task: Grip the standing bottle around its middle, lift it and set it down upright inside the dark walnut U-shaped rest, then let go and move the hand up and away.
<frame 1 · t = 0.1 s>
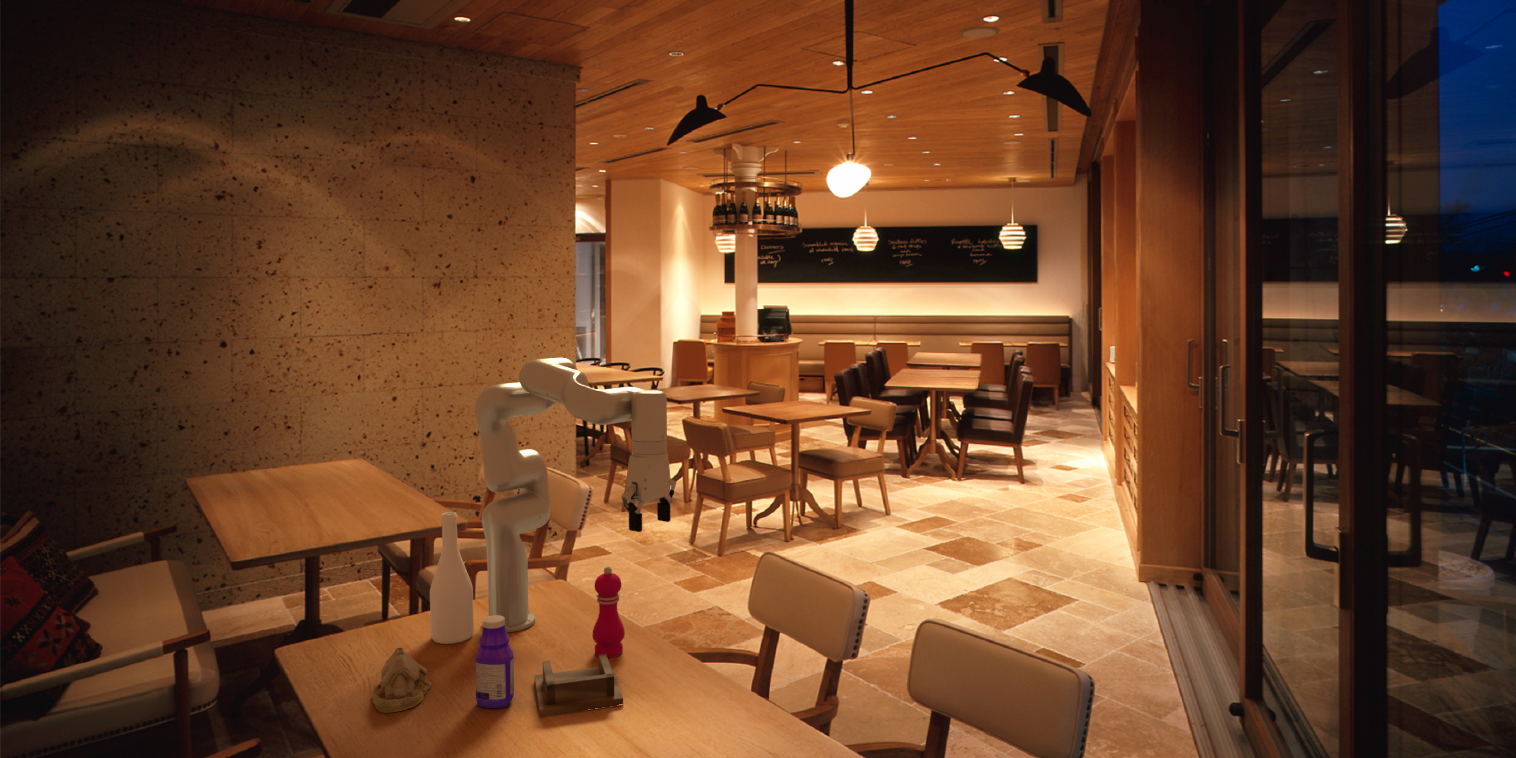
hand: (650, 525, 185), 31 cm above the table, tool pointing down, fingers open, 9 cm apart
ceramic model: (401, 697, 173), on the table
bottle: (495, 704, 170), on the table
bottle rest: (577, 693, 174), on the table
pepper mill: (608, 653, 195), on the table
wine bottle: (452, 638, 203), on the table
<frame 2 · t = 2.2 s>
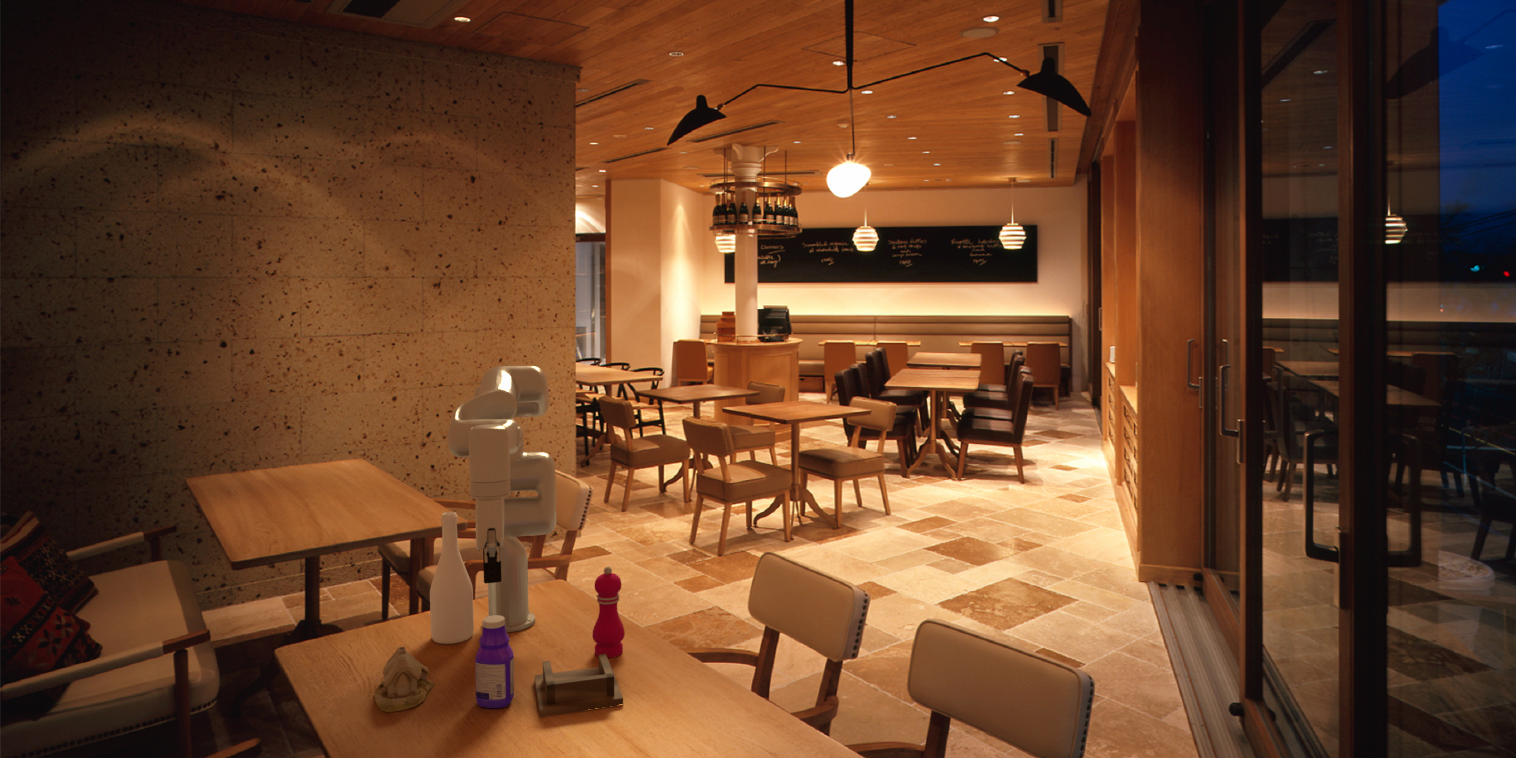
hand: (492, 574, 167), 26 cm above the table, tool pointing down, fingers open, 9 cm apart
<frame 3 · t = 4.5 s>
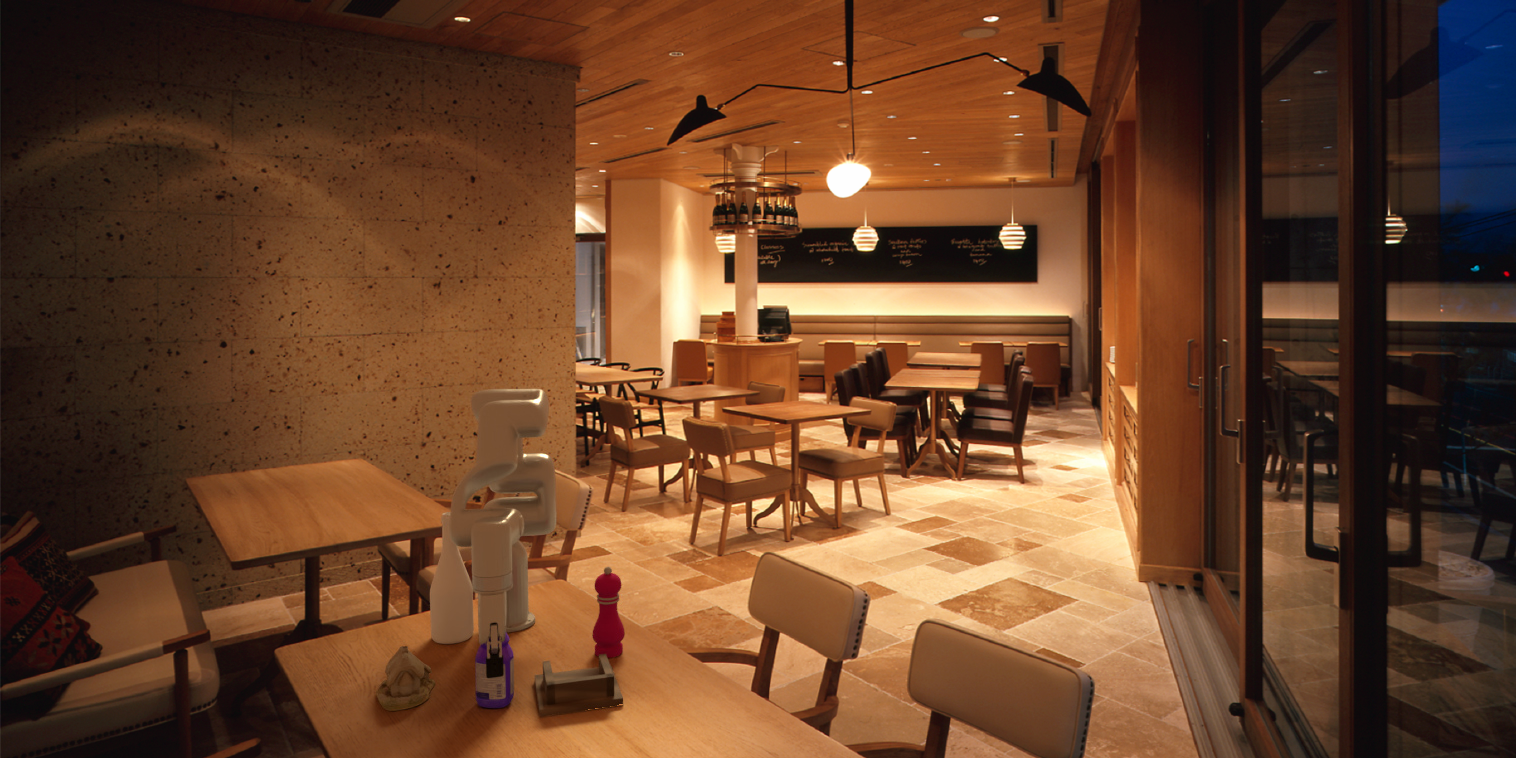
hand: (494, 668, 169), 7 cm above the table, tool pointing down, fingers closed on bottle, 6 cm apart
bottle: (495, 704, 170), on the table, touching gripper
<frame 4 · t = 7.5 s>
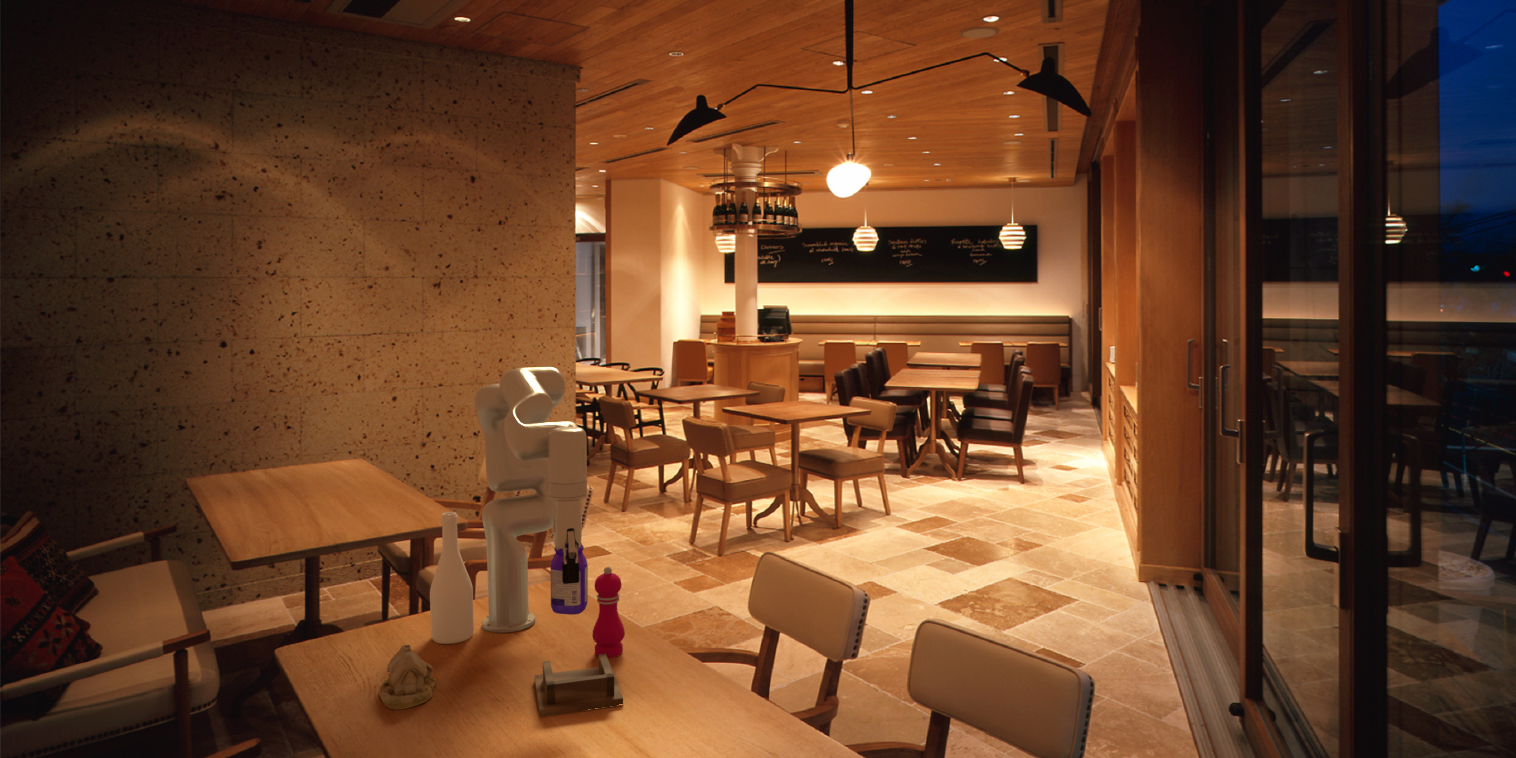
hand: (569, 576, 172), 25 cm above the table, tool pointing down, fingers closed on bottle, 6 cm apart
bottle: (569, 612, 173), point 17 cm above the table, touching gripper
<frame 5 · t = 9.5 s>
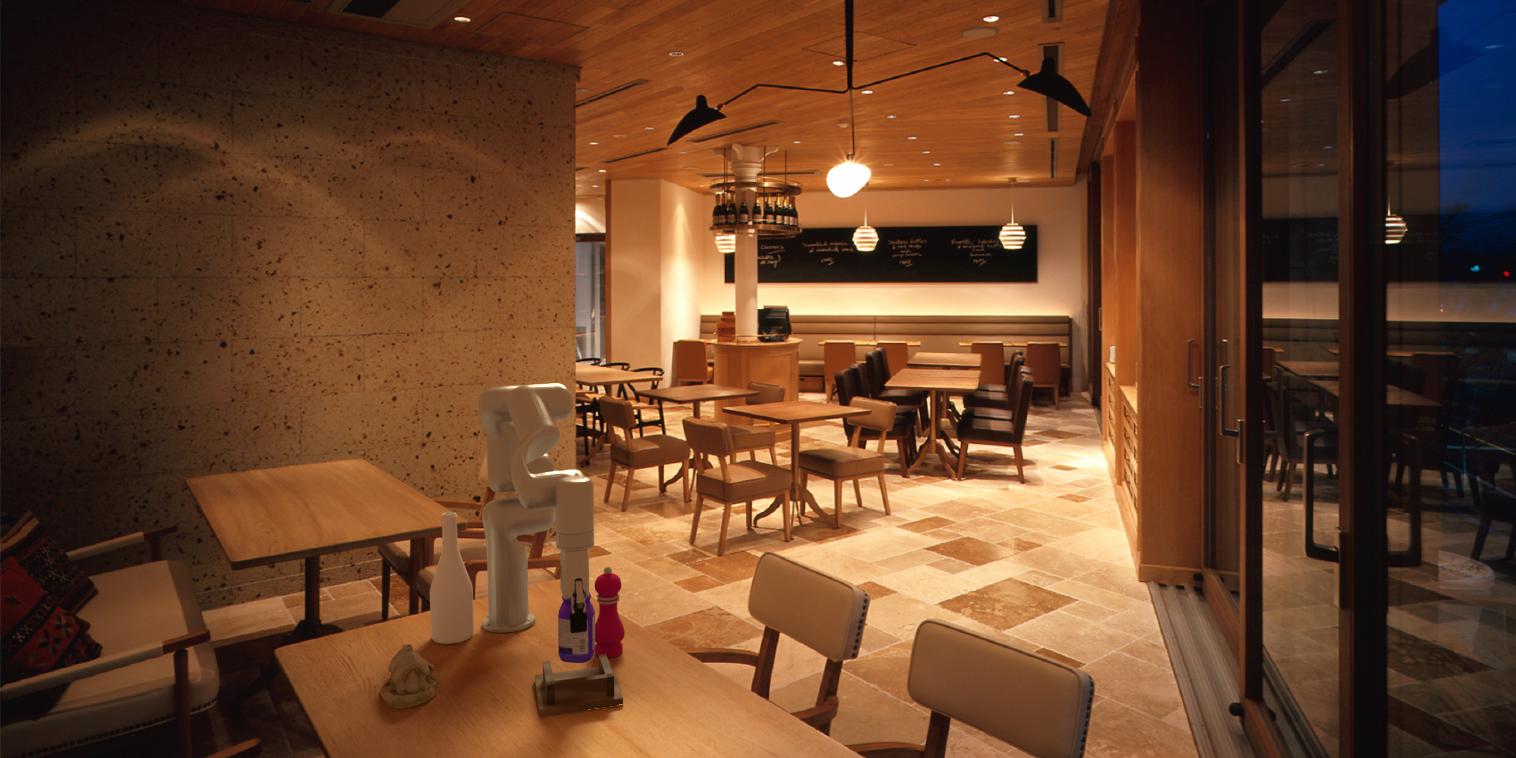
hand: (576, 624, 173), 14 cm above the table, tool pointing down, fingers closed on bottle, 6 cm apart
bottle: (577, 659, 174), point 7 cm above the table, touching gripper
when the fingers open (10 cm above the table, at t = 10.9 s): bottle drops 1 cm, resting on bottle rest.
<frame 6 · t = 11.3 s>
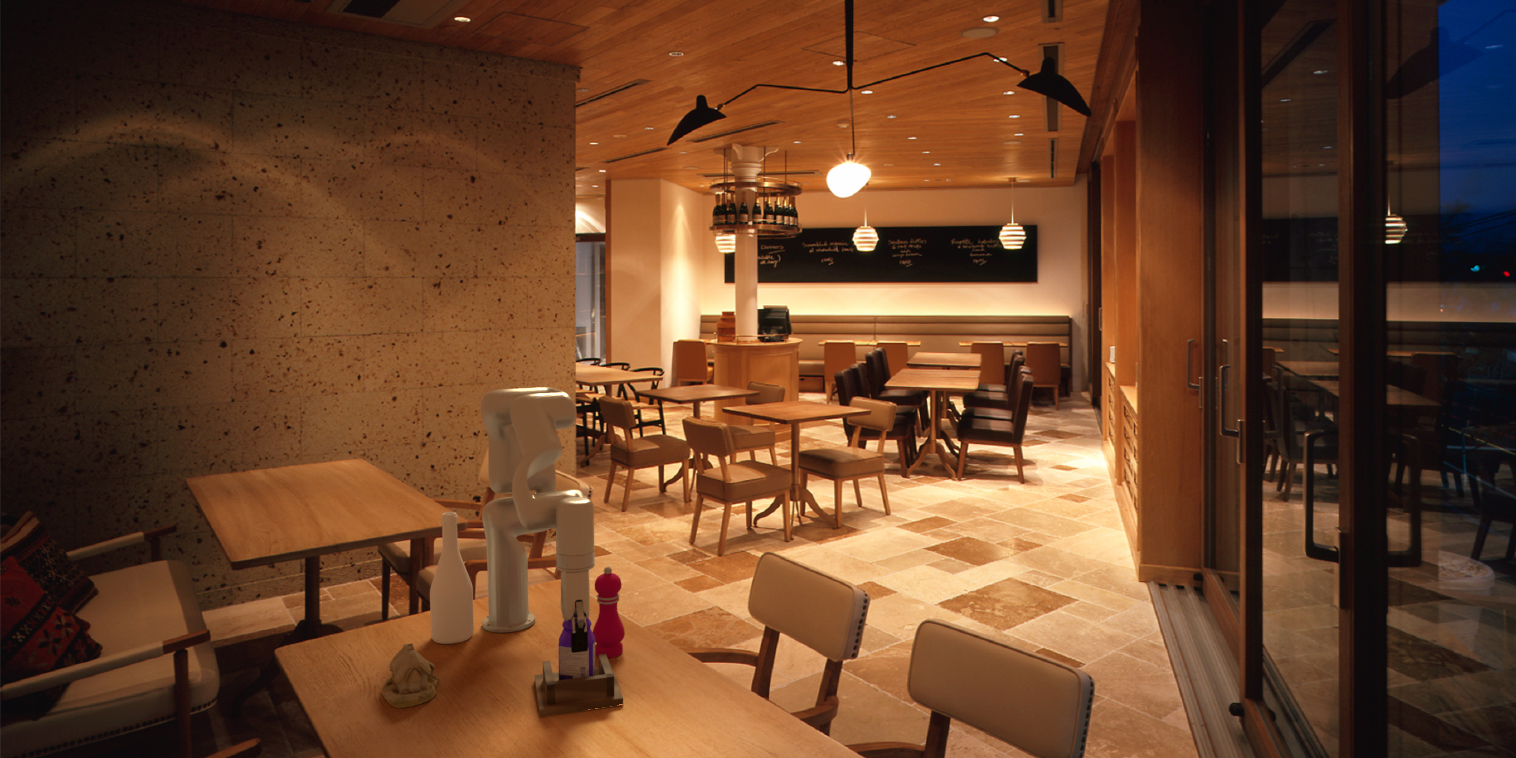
hand: (576, 642, 173), 11 cm above the table, tool pointing down, fingers open, 9 cm apart
bottle: (577, 687, 174), point 1 cm above the table, touching bottle rest
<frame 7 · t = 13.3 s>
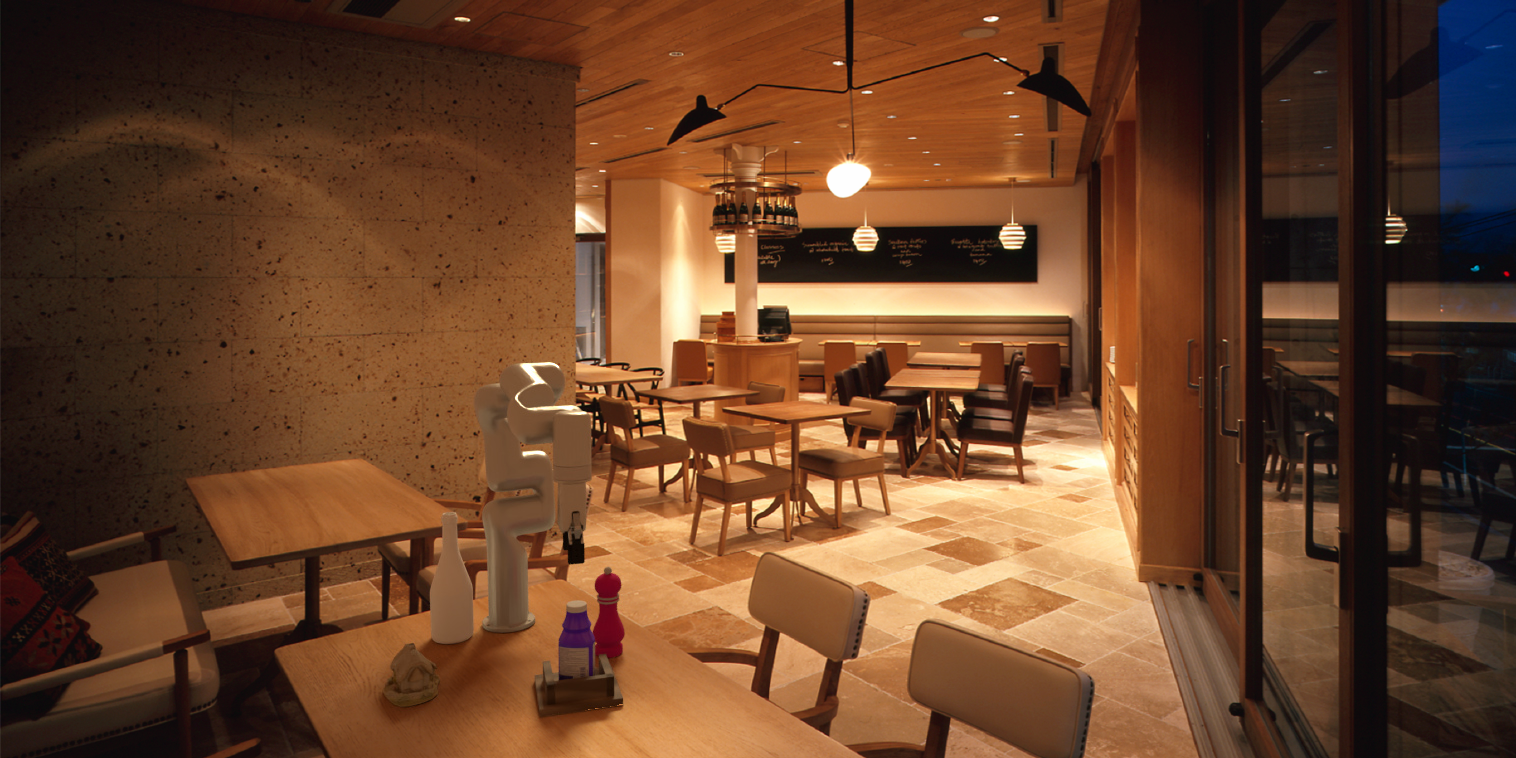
hand: (573, 556, 172), 28 cm above the table, tool pointing down, fingers open, 9 cm apart
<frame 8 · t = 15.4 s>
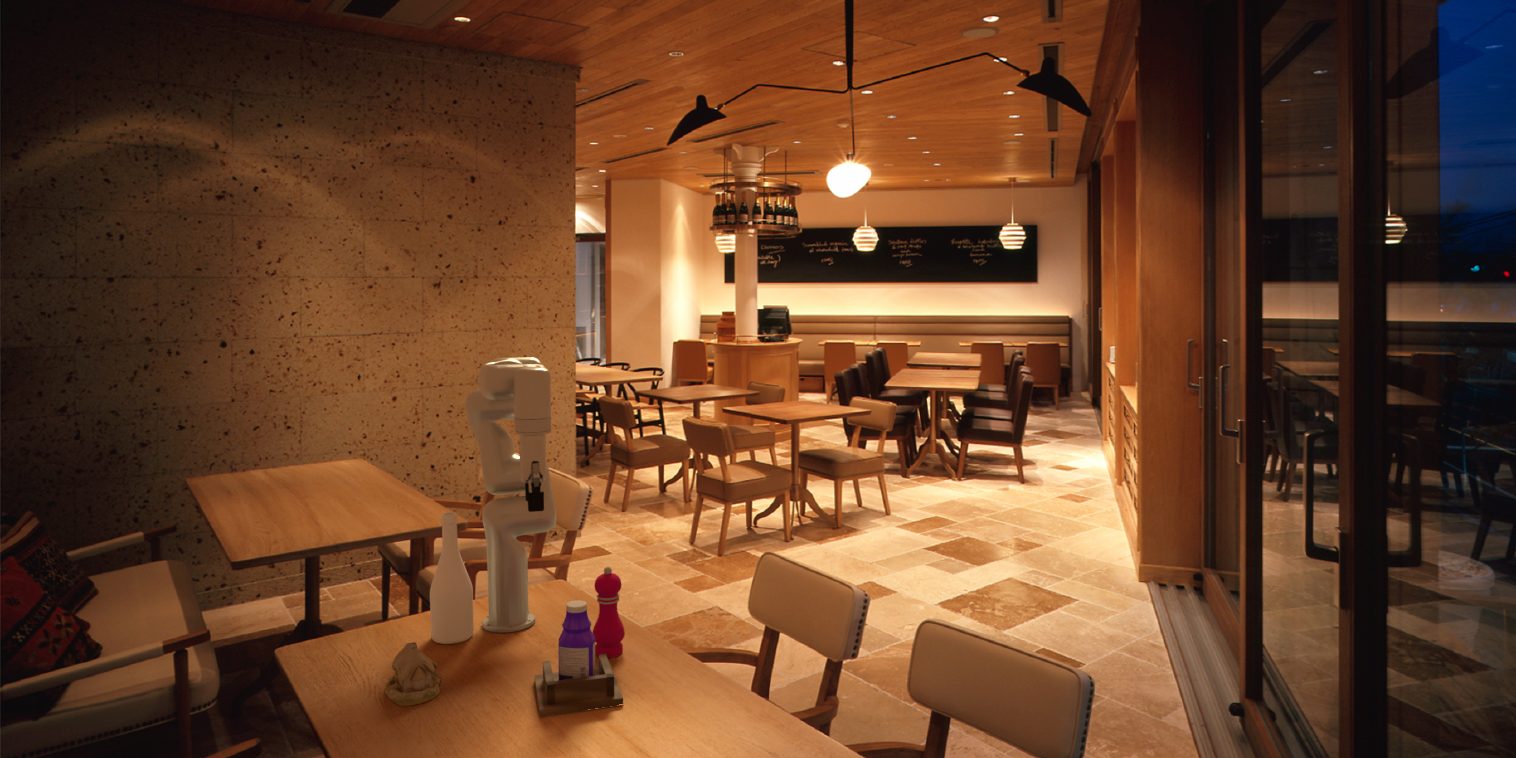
hand: (534, 505, 182), 36 cm above the table, tool pointing down, fingers open, 9 cm apart
at the end: bottle 0.0 cm off-centre on the bottle rest, point 1.3 cm above the bottle rest's base; bottle tilted 0°; the gripper is holding nothing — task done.
